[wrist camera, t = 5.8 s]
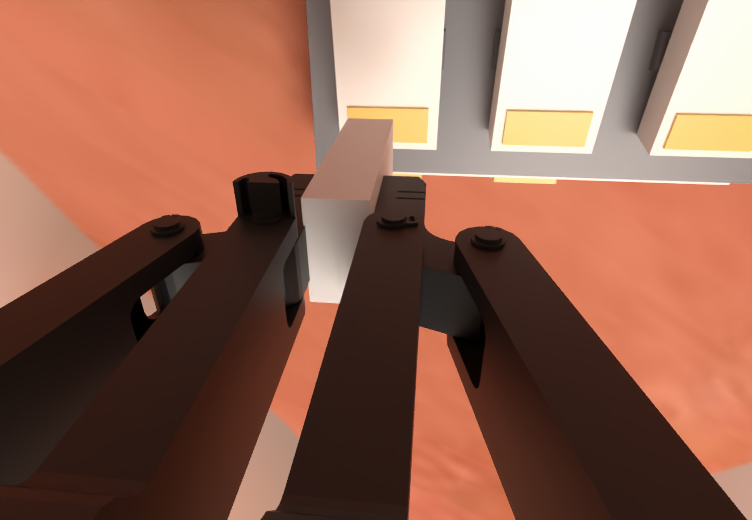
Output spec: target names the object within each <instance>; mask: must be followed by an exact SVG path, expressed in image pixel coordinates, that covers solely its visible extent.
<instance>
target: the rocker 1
mask: <svg viewBox="0 0 752 520" xmlns="http://www.w3.org/2000/svg"><path fill="white" fill-rule="evenodd" d="M445 2H446V0H330V7H331V20H332V34H333V47H334V61H335V75H336V88H337V102H338V116H339V129H340V131H341V129H342V127H343V126H344V124H345V122H346V121H347V119H348V118H359V119H393V149H420V150H436V149H437V132H438V116H439V100H440V84H441V67H442V51H443V35H444V19H445Z"/></svg>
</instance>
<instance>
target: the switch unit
mask: <svg viewBox="0 0 752 520" xmlns="http://www.w3.org/2000/svg"><path fill="white" fill-rule="evenodd" d="M505 1H506V0H446V2H445V19H444V35H443V51H442V67H441V84H440V100H439V116H438V132H437V149H436V150H420V149H393V176H416V177H420V178H421V179H422V175H447V176H477V177H492V178H493V182H512V183H541V184H556V180H557V179H566V180H596V181H625V182H655V183H685V184H715V185H729V183H747V184H752V158H723V157H688V156H653V155H649V154H648V153H647V151H646V149H645V148H644V146H643V144H642V143H641V141H640V140H639V138H638V136H637V135H636V134H637V131H638V128H639V126H640V123H641V120H642V117H643V114H644V111H645V109H646V106H647V103H648V100H649V97H650V94H651V92H652V89H653V86H654V83H655V80H656V77H657V75H658V72H659V69H660V66H661V63H662V60H663V58H664V55H665V52H666V49H667V46H668V43H669V41H670V38H671V35H672V32H673V29H674V26H675V24H676V21H677V18H678V15H679V12H680V9H681V7H682V4H683V1H684V0H637V2H636V5H635V9H634V12H633V15H632V19H631V22H630V25H629V29H628V32H627V36H626V39H625V42H624V46H623V49H622V53H621V56H620V59H619V63H618V66H617V69H616V73H615V76H614V80H613V83H612V86H611V90H610V93H609V96H608V100H607V103H606V107H605V110H604V113H603V117H602V120H601V124H600V127H599V130H598V134H597V137H596V140H595V144H594V147H593V151H592V154H583V153H548V152H513V151H491V149H490V142H489V135H488V127H489V120H490V112H491V105H492V97H493V90H494V83H495V75H496V68H497V60H498V53H499V46H500V38H501V31H502V23H503V16H504V9H505ZM306 11H307V26H308V42H309V57H310V73H311V88H312V104H313V119H314V135H315V150H316V166H317V169H318V168H319V166H320V165H321V163H322V161H323V160H324V158H325V156H326V154H327V153H328V151H329V149H330V148H331V146H332V144H333V143H334V141H335V139H336V138H337V136H338V134H339V132H340V129H339V116H338V102H337V88H336V75H335V61H334V47H333V34H332V20H331V7H330V0H306Z"/></svg>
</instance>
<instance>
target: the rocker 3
mask: <svg viewBox="0 0 752 520" xmlns="http://www.w3.org/2000/svg"><path fill="white" fill-rule="evenodd" d="M636 135H637V136H638V138H639V140H640V141H641V143H642V144H643V146H644V148H645V149H646V151H647V153H648V154H649V155H653V156H688V157H723V158H752V0H684V1H683V4H682V7H681V9H680V12H679V15H678V18H677V21H676V24H675V26H674V29H673V32H672V35H671V38H670V41H669V43H668V46H667V49H666V52H665V55H664V58H663V60H662V63H661V66H660V69H659V72H658V75H657V77H656V80H655V83H654V86H653V89H652V92H651V94H650V97H649V100H648V103H647V106H646V109H645V111H644V114H643V117H642V120H641V123H640V126H639V128H638V131H637V134H636Z"/></svg>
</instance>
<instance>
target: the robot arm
mask: <svg viewBox="0 0 752 520" xmlns="http://www.w3.org/2000/svg"><path fill="white" fill-rule="evenodd" d="M233 187H234V193H235V199H236V205H237V211H238V217H237V218H236V219H235V221H234V222H233V223H232V225H231V226H230V227H229V228H228V230H227V231H225V232H218V233H209V234H202V230H201V226H200V222H199V221H198V220H197V219H196V218H193V217H190V216H180V215H171V216H170V215H166V216H162V217H161V218H158V219H154V220H152V221H149V222H147V223H145V224H143V225H141V226H139V227H138V228H136V229H134V230H133V231H131V232H129V233H128V234H126V235H124V236H122V237H121V238H119V239H117V240H116V241H114V242H112V243H111V244H109V245H107V246H105V247H104V248H102V249H100V250H99V251H97V252H95V253H94V254H92V255H90V256H88V257H87V258H85V259H83V260H82V261H80V262H78V263H77V264H75V265H73V266H71V267H70V268H68V269H66V270H65V271H63V272H61V273H59V274H58V275H56V276H55V277H53V278H51V279H49V280H48V281H46V282H45V283H43V284H41V285H39V286H37V287H36V288H34V289H32V290H31V291H29V292H27V293H26V294H24V295H22V296H20V297H19V298H17V299H15V300H14V301H12V302H10V303H8V304H7V305H5V306H4V307H2V308H0V520H227V519H228V516H229V514H230V511H231V508H232V506H233V503H234V500H235V498H236V495H237V492H238V490H239V487H240V485H241V482H242V479H243V477H244V474H245V471H246V468H247V466H248V463H249V461H250V458H251V455H252V453H253V450H254V447H255V445H256V442H257V439H258V437H259V434H260V432H261V429H262V426H263V424H264V421H265V418H266V416H267V413H268V410H269V408H270V405H271V402H272V400H273V397H274V394H275V392H276V389H277V386H278V384H279V381H280V378H281V376H282V373H283V370H284V368H285V365H286V363H287V360H288V357H289V355H290V352H291V349H292V347H293V344H294V341H295V339H296V336H297V333H298V331H299V328H300V325H301V323H302V320H303V317H304V315H305V300H304V293H305V291H306V288H307V286H308V284H309V295H310V302H326V303H340V304H339V307H338V310H337V314H336V317H335V321H334V324H333V327H332V331H331V334H330V337H329V341H328V344H327V348H326V351H325V354H324V358H323V361H322V365H321V368H320V371H319V375H318V378H317V382H316V385H315V388H314V392H313V395H312V398H311V402H310V405H309V409H308V412H307V415H306V419H305V422H304V426H303V429H302V432H301V436H300V439H299V443H298V446H297V449H296V453H295V456H294V459H293V463H292V466H291V470H290V473H289V477H288V480H287V483H286V487H285V490H284V493H283V496H282V499H281V502H280V504H279V506H278V507H277V509H276V510H273V511H267V512H266V513H265V514H264V516H263V517H262V519H261V520H408V518H409V500H410V482H411V463H412V445H413V427H414V408H415V390H416V372H417V353H418V337H419V326H421V327H425V328H428V329H431V330H435V331H438V332H442V333H445V334H447V345H448V347H449V350H450V353H451V355H452V358H453V360H454V363H455V365H456V368H457V370H458V373H459V376H460V378H461V381H462V383H463V386H464V388H465V391H466V394H467V396H468V399H469V401H470V404H471V406H472V409H473V411H474V414H475V417H476V419H477V422H478V424H479V427H480V429H481V432H482V434H483V437H484V440H485V442H486V445H487V447H488V450H489V452H490V455H491V457H492V460H493V463H494V465H495V468H496V470H497V473H498V475H499V478H500V481H501V483H502V486H503V488H504V491H505V493H506V496H507V498H508V501H509V504H510V506H511V509H512V511H513V514H514V516H515V519H516V520H747V519H746V518H745V517H744V515H743V514H742V513H741V512H740V510H739V509H738V508H737V507H736V505H735V504H734V503H733V502H732V501H731V499H730V498H729V497H728V496H727V494H726V493H725V492H724V491H723V490H722V488H721V487H720V486H719V485H718V483H717V482H716V481H715V480H714V478H713V477H712V476H711V475H710V473H709V472H708V471H707V470H706V468H705V467H704V466H703V465H702V463H701V462H700V461H699V460H698V459H697V457H696V456H695V455H694V454H693V452H692V451H691V450H690V449H689V447H688V446H687V445H686V444H685V443H684V441H683V440H682V439H681V438H680V436H679V435H678V434H677V433H676V431H675V430H674V429H673V428H672V426H671V425H670V424H669V423H668V422H667V420H666V419H665V418H664V417H663V415H662V414H661V413H660V412H659V410H658V409H657V408H656V407H655V405H654V404H653V403H652V402H651V401H650V399H649V398H648V397H647V396H646V394H645V393H644V392H643V391H642V389H641V388H640V387H639V386H638V385H637V383H636V382H635V381H634V380H633V378H632V377H631V376H630V375H629V373H628V372H627V371H626V370H625V368H624V367H623V366H622V365H621V364H620V362H619V361H618V360H617V359H616V357H615V356H614V355H613V354H612V352H611V351H610V350H609V349H608V347H607V346H606V345H605V344H604V343H603V341H602V340H601V339H600V338H599V336H598V335H597V334H596V333H595V331H594V330H593V329H592V328H591V327H590V325H589V324H588V323H587V322H586V320H585V319H584V318H583V317H582V315H581V314H580V313H579V312H578V310H577V309H576V308H575V307H574V306H573V304H572V303H571V302H570V301H569V299H568V298H567V297H566V296H565V294H564V293H563V292H562V291H561V289H560V288H559V287H558V286H557V285H556V283H555V282H554V281H553V280H552V278H551V277H550V276H549V275H548V273H547V272H546V271H545V270H544V269H543V267H542V266H541V265H540V264H539V262H538V261H537V260H536V259H535V257H534V256H533V255H532V254H531V252H530V251H529V250H528V249H527V248H526V246H525V245H524V244H523V243H522V241H521V240H520V239H519V238H518V237H516V236H515V235H514V234H513V233H510V232H508V231H505V230H503V229H501V228H498V227H495V228H494V227H493V226H485V227H473V228H467V229H465V230H463V231H461V232H459V233H458V235H457V236H456V238H455V242H453V241H448V240H445V239H441V238H439V237H436V236H434V235H432V234H431V233H430V232H428V231H427V229H426V228H425V225H424V216H425V196H426V183H425V182H424V181H423V180H422V179H421V178H420V177H416V176H393V119H359V118H348V119H347V121H346V122H345V124H344V126H343V127H342V129H341V131H340V132H339V134H338V136H337V138H336V139H335V141H334V143H333V144H332V146H331V148H330V149H329V151H328V153H327V154H326V156H325V158H324V160H323V161H322V163H321V165H320V166H319V168H318V170H317V171H316V173H315V174H294V175H293V176H291V177H290V176H289V175H286V174H283V173H278V172H258V173H252V174H247V175H244V176H241V177H239V178H237V179H236V180H234V181H233ZM150 289H151V291H152V295H153V298H154V302H155V305H156V309H157V311H156V312H154V313H153V314H152V315H150V316H148V317H147V316H146V314H145V312H144V309H143V306H142V302H141V299H140V297H141V296H142V295H143V294H145V293H146V292H147V291H149V290H150Z"/></svg>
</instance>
